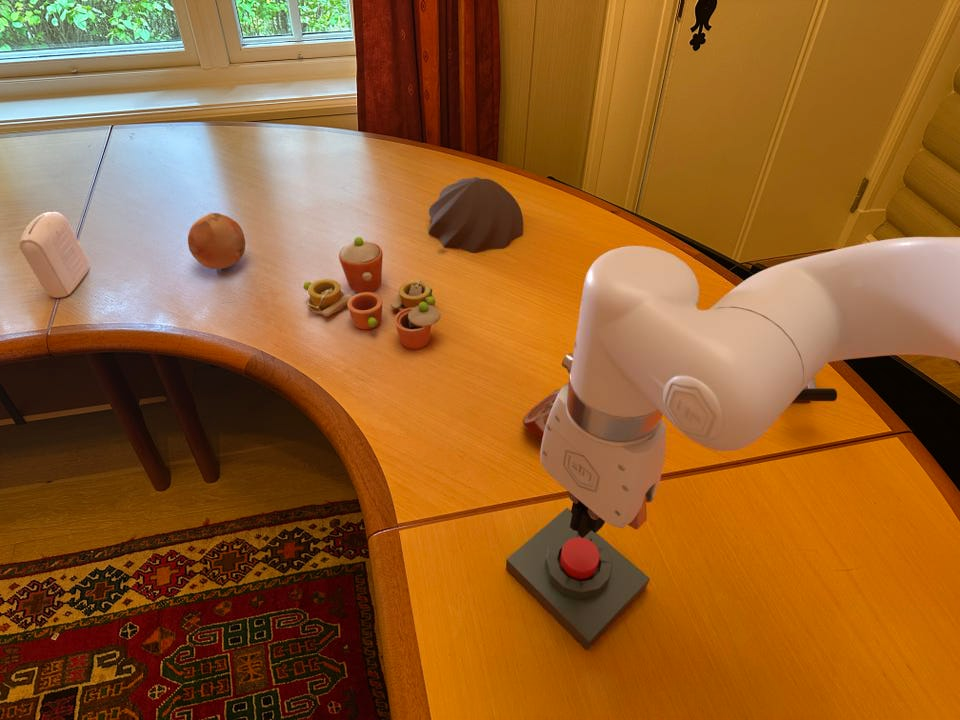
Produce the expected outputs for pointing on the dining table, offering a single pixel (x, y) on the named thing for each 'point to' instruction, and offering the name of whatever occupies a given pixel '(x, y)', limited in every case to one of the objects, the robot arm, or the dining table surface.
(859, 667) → the dining table surface
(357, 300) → the toy tea set
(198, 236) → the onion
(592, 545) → the button
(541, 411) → the fruit slice
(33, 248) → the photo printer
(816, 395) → the lever
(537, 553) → the button box
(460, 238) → the decorative dome
